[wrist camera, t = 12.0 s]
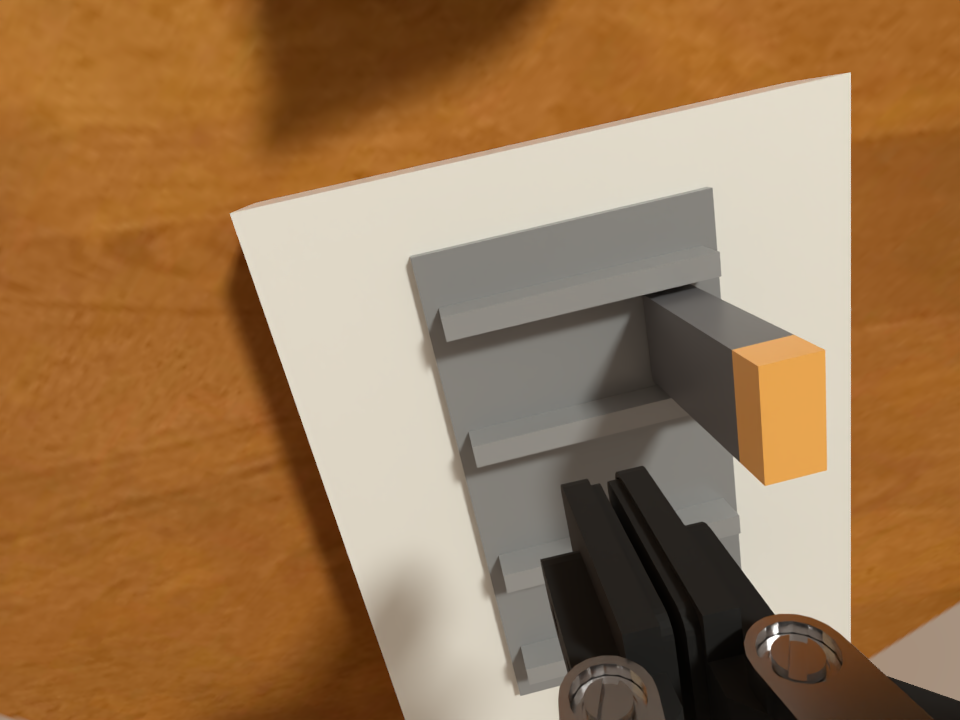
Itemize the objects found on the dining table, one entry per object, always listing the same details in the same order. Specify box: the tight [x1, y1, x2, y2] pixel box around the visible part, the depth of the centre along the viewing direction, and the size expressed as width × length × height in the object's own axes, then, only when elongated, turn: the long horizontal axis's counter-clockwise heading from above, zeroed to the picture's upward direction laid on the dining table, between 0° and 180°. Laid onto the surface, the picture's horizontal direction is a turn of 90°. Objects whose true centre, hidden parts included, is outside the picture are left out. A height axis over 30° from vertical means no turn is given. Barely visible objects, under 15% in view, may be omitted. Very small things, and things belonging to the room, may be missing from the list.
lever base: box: [230, 72, 851, 720], centre depth 22 cm, size 20×24×11 cm
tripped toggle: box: [642, 284, 827, 486], centre depth 18 cm, size 2×3×7 cm, turn 12°
